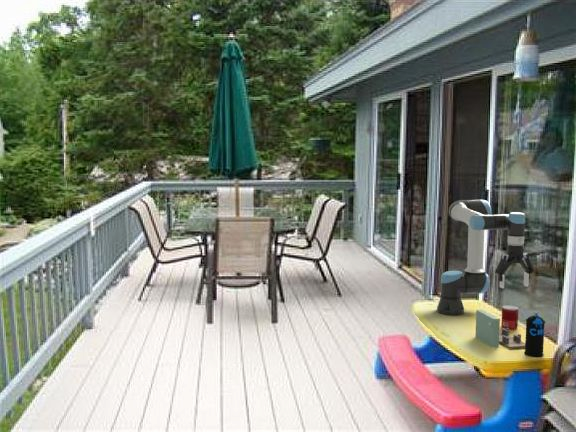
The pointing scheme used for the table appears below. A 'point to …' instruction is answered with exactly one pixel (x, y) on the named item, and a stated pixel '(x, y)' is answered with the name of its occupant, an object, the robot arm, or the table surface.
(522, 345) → the hinge board
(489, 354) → the table surface
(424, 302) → the table surface
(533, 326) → the aerosol can
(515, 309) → the canned food
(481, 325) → the door
